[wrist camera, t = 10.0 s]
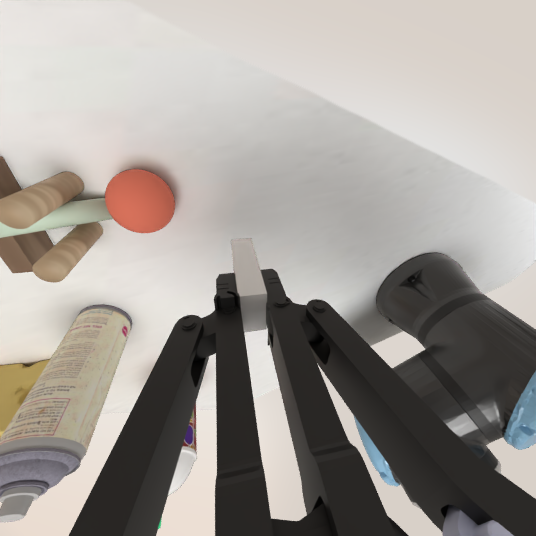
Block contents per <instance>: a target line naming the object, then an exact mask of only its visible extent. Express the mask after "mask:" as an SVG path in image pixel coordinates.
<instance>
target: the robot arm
mask: <svg viewBox="0 0 536 536" xmlns="http://www.w3.org/2000/svg"><path fill="white" fill-rule="evenodd" d="M231 245H232V257H233V270H234V273H228V274H219V276H218V278H217V279H216V285H217V286H216V289H217V294H216V295H215V297H214V303H215V311H214V312H213V313H212V314H210V315H208V316H206V317H204V318H200V317H198V316H196V315H188V316H185V317H182V318H181V319H179V320H178V321H177V323H176V324H175V326H174V328H173V330H172V332H171V334H170V336H169V338H168V340H167V342H166V344H165V346H164V348H163V350H162V352H161V354H160V356H159V358H158V360H157V362H156V364H155V366H154V368H153V370H152V372H151V374H150V376H149V378H148V380H147V382H146V384H145V385H144V387H143V389H142V391H141V393H140V395H139V397H138V399H137V401H136V403H135V405H134V407H133V409H132V411H131V413H130V415H129V417H128V419H127V421H126V423H125V425H124V427H123V429H122V431H121V433H120V435H119V437H118V439H117V441H116V443H115V445H114V447H113V449H112V451H111V453H110V455H109V457H108V459H107V461H106V463H105V465H104V467H103V469H102V471H101V473H100V475H99V477H98V479H97V481H96V483H95V485H94V487H93V489H92V491H91V493H90V495H89V497H88V499H87V500H86V503H85V504H84V507H83V508H82V510H81V512H80V514H79V516H78V518H77V520H76V522H75V524H74V527H73V528H72V530H71V532H70V534H69V536H156V533H157V530H158V527H159V523H160V520H161V517H162V513H163V510H164V507H165V503H166V500H167V497H168V493H169V490H170V486H171V483H172V480H173V476H174V473H175V470H176V466H177V463H178V460H179V456H180V453H181V450H182V446H183V443H184V439H185V436H186V433H187V429H188V426H189V423H190V419H191V416H192V413H193V409H194V406H195V403H196V399H197V396H198V392H199V389H200V386H201V382H202V379H203V376H204V372H205V369H206V366H207V362H208V359H209V356H210V355H213V354H215V353H216V402H217V477H216V485H215V487H216V488H215V536H408V535H407V534H406V533H405V532H404V531H403V530H402V529H401V528H400V527H399V526H398V525H397V524H396V523H395V522H394V521H393V520H392V519H391V518H389V517H388V516H387V514H386V512H385V509H384V507H383V505H382V502H381V500H380V498H379V496H378V493H377V491H376V488H375V486H374V484H373V481H372V479H371V477H370V474H369V472H368V470H367V467H366V465H365V463H364V460H363V458H362V456H361V454H360V453H359V451H358V450H357V448H356V447H355V446H353V445H352V444H351V443H350V442H349V440H348V438H347V436H346V434H345V431H344V429H343V427H342V424H341V422H340V419H339V417H338V414H337V412H336V409H335V407H334V404H333V402H332V399H331V397H330V394H329V392H328V389H327V387H326V384H325V382H324V380H323V377H322V375H321V372H320V370H319V367H318V365H319V366H320V368H321V369H322V370H323V372H324V373H325V375H326V376H327V378H328V379H329V380H330V382H331V383H332V385H333V386H334V387H335V389H336V390H337V392H338V393H339V395H340V396H341V397H342V399H343V400H344V402H345V403H346V405H347V406H348V407H349V409H350V410H351V412H352V413H353V415H354V418H355V422H356V425H357V429H358V431H359V434H360V437H361V440H362V442H363V445H364V447H365V449H366V452H367V454H368V456H369V458H370V460H371V462H372V464H373V466H374V467H375V469H376V470H377V471H378V472H379V474H380V476H381V478H382V479H383V480H384V481H385V482H386V483H387V484H389V485H394V486H398V485H400V484H401V485H402V487H403V488H404V490H405V492H406V494H407V495H408V497H409V499H410V500H411V502H412V504H413V505H415V506H417V507H419V508H420V509H422V510H423V512H424V513H425V514H426V515H427V516H428V517H429V518H430V520H431V521H432V522H433V523H434V524H435V525H436V526H437V527H438V528H439V529H440V530H441V531H442V532H443V536H536V499H535V498H533V497H532V496H531V495H529V494H528V493H526V492H525V491H524V490H522V489H521V488H519V487H518V486H517V485H515V484H514V483H513V482H511V481H510V480H508V479H507V478H506V477H504V476H503V475H501V464H500V462H499V461H498V460H497V459H496V457H495V456H494V455H493V454H492V453H491V451H490V450H489V449H488V448H487V446H486V445H487V444H489V443H491V442H493V441H495V440H497V439H500V438H502V437H504V439H505V441H506V442H507V443H508V444H510V445H512V446H513V447H514V448H516V449H519V450H522V449H526V448H528V447H530V446H531V445H534V444H535V443H536V329H534V328H533V327H531V326H530V325H528V324H527V323H525V322H524V321H522V320H521V319H519V318H518V317H516V316H515V315H513V314H512V313H510V312H509V311H507V310H506V309H504V308H503V307H501V306H500V305H499V304H497V303H496V302H494V301H492V300H491V299H490V298H488V297H487V296H485V295H484V294H482V293H481V292H480V291H479V290H478V288H477V287H476V286H475V284H474V283H473V282H472V280H471V279H470V278H469V277H468V275H467V274H466V273H465V272H464V271H463V269H462V267H461V266H460V265H459V264H458V263H457V262H456V261H454V260H452V259H451V258H449V257H448V256H446V255H444V254H440V253H429V254H424V255H421V256H418V257H415V258H413V259H411V260H409V261H407V262H406V263H404V264H403V265H401V266H400V267H398V268H397V269H396V270H395V271H394V272H393V273H392V274H391V275H390V276H389V277H388V278H387V279H386V280H385V281H384V283H383V284H382V286H381V288H380V290H379V292H378V295H377V299H376V304H377V308H378V310H379V311H380V312H381V314H382V315H383V316H384V317H385V318H386V319H387V320H388V321H389V322H391V323H392V324H395V325H397V326H398V327H399V328H401V329H402V330H404V331H405V332H407V333H408V334H410V335H412V336H413V337H415V338H416V339H417V340H418V341H419V342H420V343H421V344H422V345H423V346H424V348H425V350H424V351H422V352H420V353H418V354H417V355H415V356H413V357H411V358H410V359H408V360H406V361H404V362H403V363H401V364H399V365H398V366H396V367H394V368H391V367H390V366H389V365H387V363H386V362H385V361H384V360H383V359H382V358H381V357H380V356H379V355H378V354H377V353H376V352H375V351H374V350H373V349H372V348H371V347H370V346H369V345H368V344H367V343H366V342H365V341H364V340H363V339H362V338H361V337H360V336H359V335H358V334H357V333H356V331H355V330H354V329H353V328H352V327H351V326H350V325H349V324H348V323H347V322H346V321H345V320H344V319H343V318H342V317H341V316H340V315H339V314H338V313H337V312H336V311H335V310H334V309H333V308H332V307H331V306H330V305H329V304H328V303H327V302H325V301H323V300H317V299H316V300H311V301H309V302H308V304H307V305H299V304H295V303H293V302H292V301H291V300H290V299H289V298H288V297H286V294H285V291H284V289H283V286H282V284H281V281H280V279H279V276H278V274H277V272H276V271H274V270H273V269H266V270H260V267H259V264H258V260H257V257H256V254H255V250H254V247H253V243H252V240H251V238H248V239H233V240H231ZM266 328H268V345H270V347H271V352H272V356H273V360H274V365H275V369H276V373H277V377H278V382H279V386H280V390H281V394H282V399H283V403H284V407H285V411H286V415H287V420H288V424H289V428H290V433H291V437H292V441H293V445H294V449H295V454H296V458H297V462H298V466H299V471H300V476H301V481H302V491H303V497H304V503H305V507H306V512H307V516H305V517H304V518H303V519H301V520H300V521H287V520H279V519H271V516H270V510H269V502H268V495H267V488H266V481H265V474H264V469H263V465H262V460H261V452H260V445H259V437H258V430H257V423H256V416H255V408H254V401H253V394H252V387H251V379H250V372H249V365H248V357H247V350H246V343H245V336H244V332H250V331H257V330H264V329H266ZM317 363H318V365H317Z"/></svg>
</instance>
